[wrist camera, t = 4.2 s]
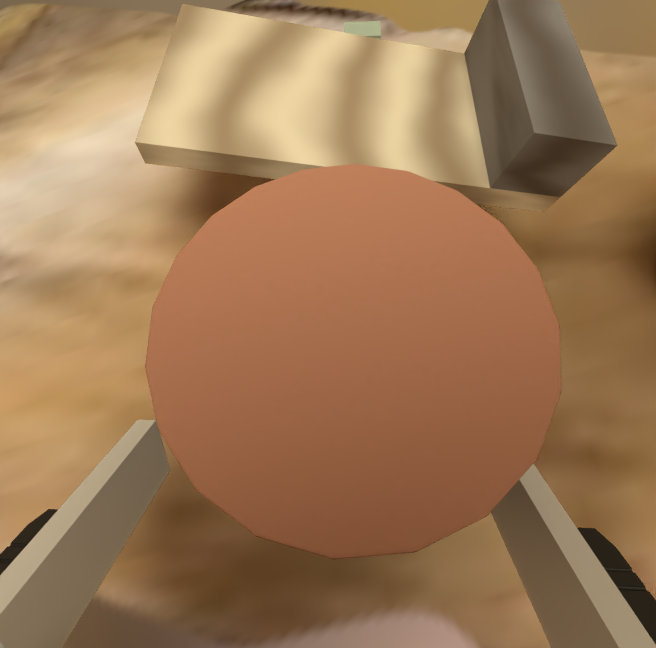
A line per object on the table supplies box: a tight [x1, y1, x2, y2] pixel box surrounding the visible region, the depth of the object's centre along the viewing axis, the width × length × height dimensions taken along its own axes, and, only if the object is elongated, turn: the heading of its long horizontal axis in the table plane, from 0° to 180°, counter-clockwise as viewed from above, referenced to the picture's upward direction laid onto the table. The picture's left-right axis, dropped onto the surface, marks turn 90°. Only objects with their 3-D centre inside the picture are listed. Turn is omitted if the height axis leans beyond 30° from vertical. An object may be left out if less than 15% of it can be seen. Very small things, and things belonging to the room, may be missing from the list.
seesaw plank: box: [135, 0, 617, 212], centre depth 22 cm, size 27×16×7 cm, turn 88°
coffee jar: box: [145, 164, 561, 559], centre depth 17 cm, size 11×11×18 cm
